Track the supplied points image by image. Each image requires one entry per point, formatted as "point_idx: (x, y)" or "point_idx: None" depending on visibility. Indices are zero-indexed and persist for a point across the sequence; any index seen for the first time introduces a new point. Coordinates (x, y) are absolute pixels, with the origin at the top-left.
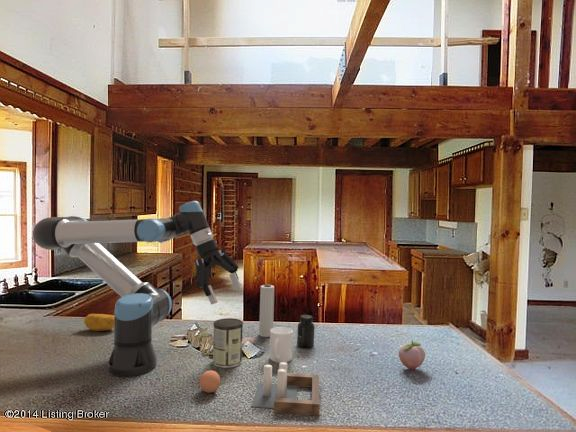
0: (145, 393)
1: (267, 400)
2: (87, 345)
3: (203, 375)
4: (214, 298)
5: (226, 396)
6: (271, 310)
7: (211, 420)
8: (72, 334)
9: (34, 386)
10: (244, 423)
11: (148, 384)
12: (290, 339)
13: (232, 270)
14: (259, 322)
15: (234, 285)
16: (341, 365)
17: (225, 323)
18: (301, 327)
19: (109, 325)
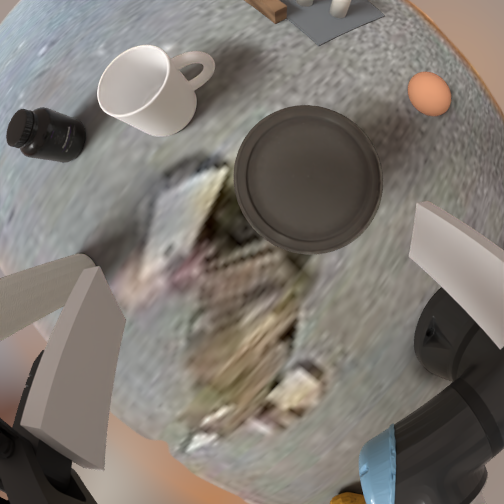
0: (492, 196)
1: (350, 4)
2: None
3: (450, 96)
4: (452, 217)
5: (402, 64)
6: (28, 270)
7: (448, 46)
8: None
9: None
10: (413, 7)
11: (478, 226)
12: (142, 56)
13: (38, 472)
14: None
15: (112, 346)
16: (118, 23)
17: (329, 178)
18: (50, 123)
19: (353, 495)
